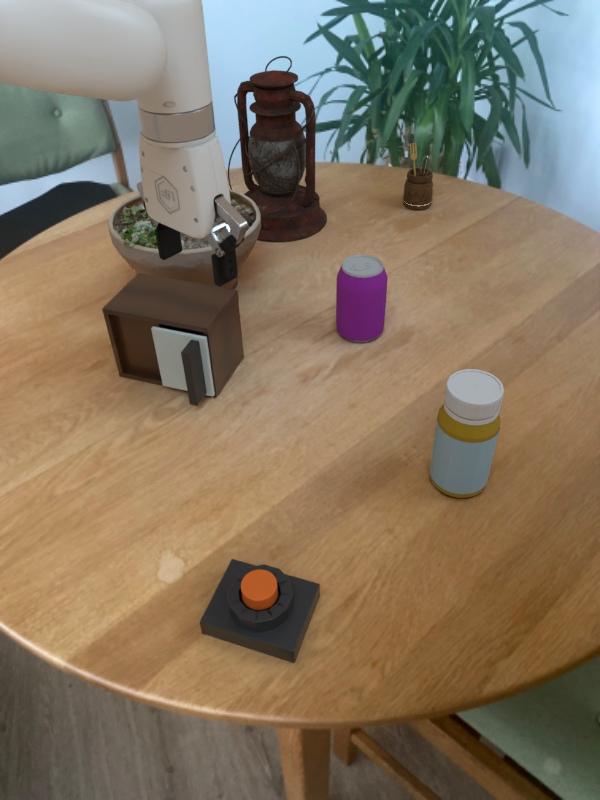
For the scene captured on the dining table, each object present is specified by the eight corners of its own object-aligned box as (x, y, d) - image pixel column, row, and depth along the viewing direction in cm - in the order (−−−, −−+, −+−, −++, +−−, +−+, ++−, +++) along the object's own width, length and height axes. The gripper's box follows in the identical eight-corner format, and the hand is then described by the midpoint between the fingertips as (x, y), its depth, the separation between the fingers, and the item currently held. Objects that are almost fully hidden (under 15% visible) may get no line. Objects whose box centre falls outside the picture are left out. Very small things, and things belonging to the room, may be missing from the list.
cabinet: (216, 397, 96) (207, 328, 88) (119, 376, 100) (101, 308, 93) (244, 357, 103) (237, 289, 95) (151, 338, 108) (138, 272, 100)
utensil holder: (414, 213, 139) (419, 155, 131) (396, 202, 143) (400, 145, 135) (437, 206, 141) (443, 149, 133) (419, 196, 145) (424, 139, 137)
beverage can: (372, 313, 111) (376, 248, 103) (391, 339, 106) (397, 272, 98) (329, 322, 110) (329, 256, 102) (345, 349, 104) (347, 281, 96)
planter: (188, 237, 133) (177, 163, 123) (292, 272, 122) (289, 193, 112) (90, 296, 117) (69, 217, 108) (200, 342, 106) (187, 258, 97)
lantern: (215, 227, 136) (196, 67, 117) (269, 193, 148) (260, 42, 128) (293, 251, 128) (287, 83, 108) (344, 212, 140) (347, 55, 120)
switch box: (201, 633, 68) (197, 612, 66) (233, 570, 74) (230, 548, 71) (294, 663, 66) (293, 642, 63) (320, 595, 71) (319, 573, 69)
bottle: (441, 452, 87) (456, 359, 77) (494, 471, 84) (516, 378, 74) (419, 487, 82) (432, 394, 73) (474, 509, 80) (495, 415, 70)
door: (203, 410, 93) (194, 352, 86) (152, 398, 95) (139, 341, 88) (214, 394, 95) (206, 336, 89) (164, 383, 97) (153, 326, 91)
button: (236, 604, 67) (234, 594, 66) (250, 575, 69) (249, 565, 68) (270, 614, 66) (269, 605, 65) (283, 584, 68) (282, 574, 67)
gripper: (97, 113, 72) (128, 257, 83) (208, 151, 63) (225, 306, 74) (152, 95, 76) (174, 235, 87) (263, 128, 67) (272, 279, 78)
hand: (198, 267), depth 80 cm, fingers open, 9 cm apart
